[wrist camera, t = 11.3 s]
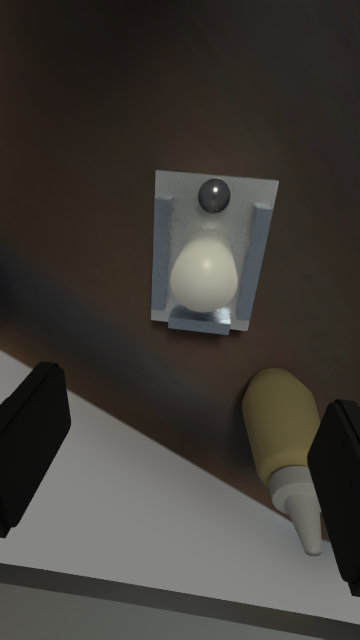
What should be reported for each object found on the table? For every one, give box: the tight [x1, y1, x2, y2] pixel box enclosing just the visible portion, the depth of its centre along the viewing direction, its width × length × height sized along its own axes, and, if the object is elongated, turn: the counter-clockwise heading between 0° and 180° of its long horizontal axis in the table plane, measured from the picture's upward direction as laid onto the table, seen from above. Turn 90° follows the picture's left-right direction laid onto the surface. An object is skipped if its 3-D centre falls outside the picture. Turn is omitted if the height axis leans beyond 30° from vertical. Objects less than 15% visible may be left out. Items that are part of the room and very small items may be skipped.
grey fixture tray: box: [151, 169, 279, 335], centre depth 28 cm, size 14×10×5 cm
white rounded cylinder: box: [170, 231, 238, 313], centre depth 25 cm, size 7×5×6 cm
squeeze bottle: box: [242, 368, 322, 556], centre depth 29 cm, size 8×8×18 cm
